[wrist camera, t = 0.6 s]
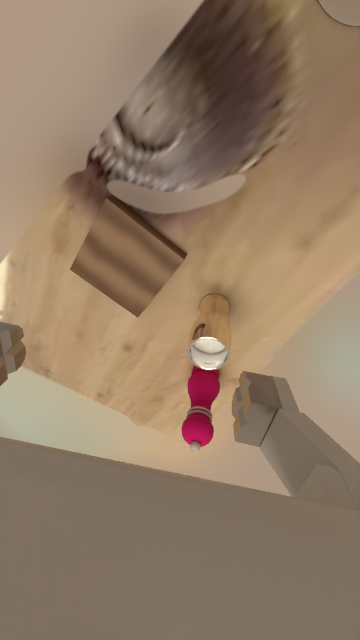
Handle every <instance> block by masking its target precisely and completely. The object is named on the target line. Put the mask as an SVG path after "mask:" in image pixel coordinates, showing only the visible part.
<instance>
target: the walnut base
mask: <svg viewBox="0 0 360 640" xmlns="http://www.w3.org/2000/svg"><path fill="white" fill-rule="evenodd" d="M186 255H187V254H186V253H184V252H183V251H182V250H181V249H179V248H178V247H177V246H176V245H174V244H173V243H172V242H171V241H169V240H168V239H167V238H166V237H164V236H163V235H162V234H161V233H159V232H158V231H157V230H156V229H154V228H153V227H152V226H151V225H149V224H148V223H147V222H146V221H144V220H143V219H142V218H141V217H139V216H138V215H137V214H136V213H134V212H133V211H132V210H131V209H129V208H128V207H127V206H126V205H124V204H123V203H122V202H121V201H119V200H118V199H117V198H116V197H114V196H111V197H108V198H106V200H105V202H104V203H103V205H102V207H101V209H100V211H99V213H98V215H97V217H96V219H95V221H94V223H93V225H92V227H91V229H90V231H89V233H88V235H87V237H86V239H85V241H84V243H83V245H82V247H81V249H80V251H79V252H78V254H77V256H76V258H75V260H74V262H73V264H72V266H71V268H70V270H71V271H73V272H74V273H76V274H77V275H78V276H80V277H81V278H83V279H84V280H85V281H87V282H88V283H90V284H91V285H93V286H94V287H95V288H97V289H98V290H100V291H101V292H102V293H104V294H105V295H107V296H108V297H110V298H111V299H112V300H114V301H115V302H117V303H118V304H119V305H121V306H122V307H124V308H125V309H127V310H128V311H129V312H131V313H132V314H134V315H135V316H136V317H139V315H140V314H141V313H142V312H143V310H144V309H145V308H146V307H147V305H148V304H149V303H150V302H151V300H152V299H153V298H154V297H155V295H156V294H157V293H158V292H159V290H160V289H161V288H162V287H163V285H164V284H165V283H166V282H167V280H168V279H169V278H170V277H171V275H172V274H173V273H174V272H175V271H176V269H177V268H178V267H179V266H180V264H181V263H182V262H183V261H184V259H185V257H186Z"/></svg>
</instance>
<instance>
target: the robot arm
mask: <svg viewBox="0 0 360 640" xmlns="http://www.w3.org/2000/svg"><path fill="white" fill-rule="evenodd" d="M318 1H319V3H320V4H321V6H322V7H323V9H324V10H325V11H326V12H327V13H328V14H329V15H330V16H331V17H332V18H334V19H335V20H337V21H338V22H341V23H343V24H346V25H351V26H360V0H318ZM23 337H24V334H23V329H22V328H21V327H20V326H18V325H13V324H9V323H4V322H0V386H1V385H2V384H3V383H4V382H5V381H6V380H7V379H8V374H9V373H12V372H14V371H17V369H18V368H19V367H20V366H21V365H22V363H23V361H24V359H25V355H26V349H25V346H24V344H23V343H22V342H21V339H22V338H23ZM239 384H240V386H239V387H238V388H236V389H235V392H234V395H233V401H232V415H233V416H234V417H235V419H236V420H235V422H234V425H233V427H234V437H235V441H236V442H240V443H245V444H249V445H253V446H258V447H260V450H261V451H262V453H263V454H264V456H265V457H266V459H267V460H268V462H269V463H270V465H271V466H272V468H273V469H274V471H275V472H276V473H277V475H278V476H279V478H280V480H281V481H282V482H283V484H284V486H285V487H286V488H287V490H288V492H289V493H290V494H291V496H292V497H289V496H285V495H280V494H275V493H270V492H265V491H260V490H256V489H250V488H246V487H241V486H236V485H231V484H226V483H221V482H217V481H211V480H207V479H202V478H197V477H192V476H188V475H183V474H178V473H173V472H168V471H164V470H158V469H153V468H149V467H144V466H139V465H134V464H129V463H125V462H120V461H115V460H110V459H105V458H100V457H96V456H90V455H86V454H81V453H76V452H71V451H66V450H61V449H57V448H52V447H47V446H42V445H37V444H32V443H28V442H23V441H18V440H13V439H8V438H4V437H0V640H360V463H359V462H358V461H356V460H355V459H354V458H353V457H352V456H351V455H350V454H349V453H348V452H346V451H345V450H344V449H343V448H342V447H341V446H340V445H339V444H338V443H336V442H335V441H334V440H333V439H332V438H331V437H330V436H329V435H328V434H326V433H325V432H324V431H323V430H322V429H321V428H320V427H319V426H318V425H316V424H315V423H314V422H313V421H312V420H311V419H310V418H309V417H308V416H306V415H305V414H304V413H300V412H299V409H298V407H297V404H296V402H295V400H294V397H293V395H292V392H291V390H290V387H289V384H288V382H287V380H286V379H285V378H280V377H275V376H267V375H261V374H256V373H251V372H246V371H243V372H242V373H241V375H240V378H239Z"/></svg>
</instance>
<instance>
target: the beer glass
mask: <svg viewBox="0 0 360 640" xmlns="http://www.w3.org/2000/svg"><path fill="white" fill-rule="evenodd" d="M199 309H200V314H199V316H198V318H197V319H196V321H195V323H194V325H193V327H192V329H191V333H190V337H189V344H188V350H187V354H188V357H189V359H190V361H191V362H192V363H193V364H194V365H195V366H197V367H199V368H201V369H205V370H216V369H219V368H221V367H223V366H224V365H226V363H227V362H228V360H229V357H230V349H231V340H232V339H231V329H230V325H229V321H228V318H227V316H228V313H229V311H230V305H229V302H228V300H227V299H226V298H225V297H223V296H221V295H219V294H210V295H207V296H206V297H204V298H203V299H202V300H201V302H200V306H199Z"/></svg>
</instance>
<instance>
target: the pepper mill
mask: <svg viewBox="0 0 360 640" xmlns="http://www.w3.org/2000/svg"><path fill="white" fill-rule="evenodd" d="M218 375H219V373H218V370H217V369H216V370H205V369H201V368H199V367H197V366H194V368H193V370H192V376H191V377H190V378H189V380H188V393H189V396H190V399H191V408H190V409H189V410H188V412H187V419H186V420H185V421H184V422H183V425H182V436H183V438H184V440H185V441H186V442H187V443H188V444H190V448H191V450H192V451H193V452H198V451H199V450H200V447H202V446H205V445H207V444H208V443H209V442H210V441H211V439H212V437H213V432H214V431H213V426H212V423H211V422H212V414H211V412H210V409H211V405H212V402H213V401H214V400H215V399H216V397H217V395H218V393H219V389H220V383H219V381H218Z"/></svg>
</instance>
